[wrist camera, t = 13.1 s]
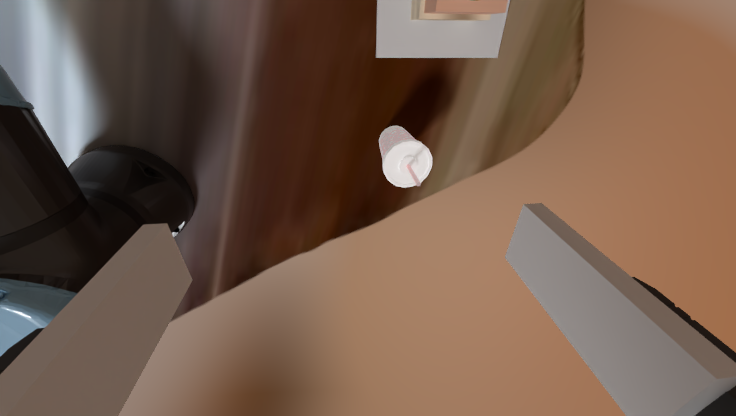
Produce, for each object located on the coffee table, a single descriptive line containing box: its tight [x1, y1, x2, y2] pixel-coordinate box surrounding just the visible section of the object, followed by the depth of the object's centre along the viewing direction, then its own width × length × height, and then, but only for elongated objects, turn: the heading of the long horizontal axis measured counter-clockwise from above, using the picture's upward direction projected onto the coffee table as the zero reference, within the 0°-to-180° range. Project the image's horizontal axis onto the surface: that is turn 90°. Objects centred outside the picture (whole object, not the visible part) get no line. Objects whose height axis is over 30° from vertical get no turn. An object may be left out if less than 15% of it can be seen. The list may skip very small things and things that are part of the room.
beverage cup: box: [379, 126, 432, 188], centre depth 36 cm, size 6×6×14 cm
